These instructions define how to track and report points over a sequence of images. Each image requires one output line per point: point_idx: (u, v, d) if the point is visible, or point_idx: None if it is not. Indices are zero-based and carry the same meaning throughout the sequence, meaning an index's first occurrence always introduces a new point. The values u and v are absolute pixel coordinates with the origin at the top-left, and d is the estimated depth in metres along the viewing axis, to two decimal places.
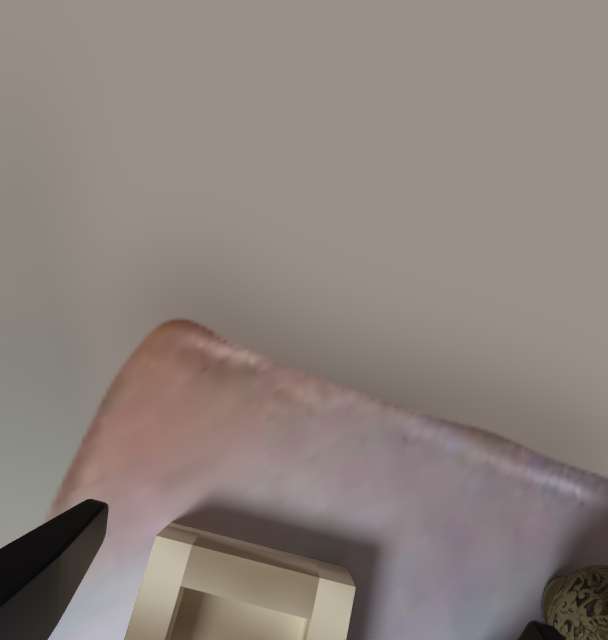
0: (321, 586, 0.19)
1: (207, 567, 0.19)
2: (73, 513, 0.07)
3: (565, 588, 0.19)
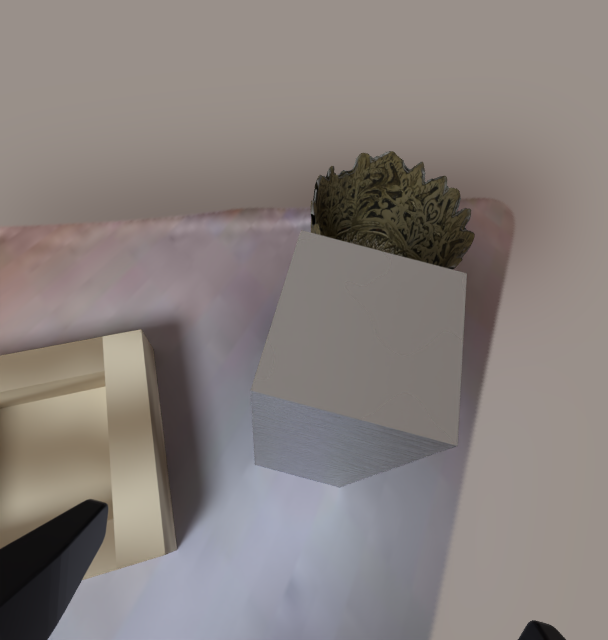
0: (106, 342, 0.19)
1: None
2: (73, 514, 0.07)
3: None
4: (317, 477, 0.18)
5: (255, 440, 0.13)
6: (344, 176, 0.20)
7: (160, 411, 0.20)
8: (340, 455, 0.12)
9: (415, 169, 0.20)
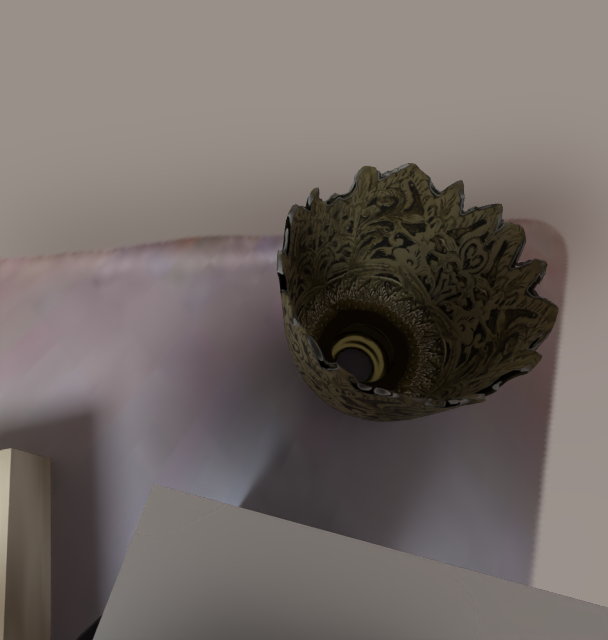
0: None
1: None
2: None
3: None
4: None
5: None
6: (336, 203, 0.12)
7: (49, 568, 0.13)
8: None
9: (449, 192, 0.12)
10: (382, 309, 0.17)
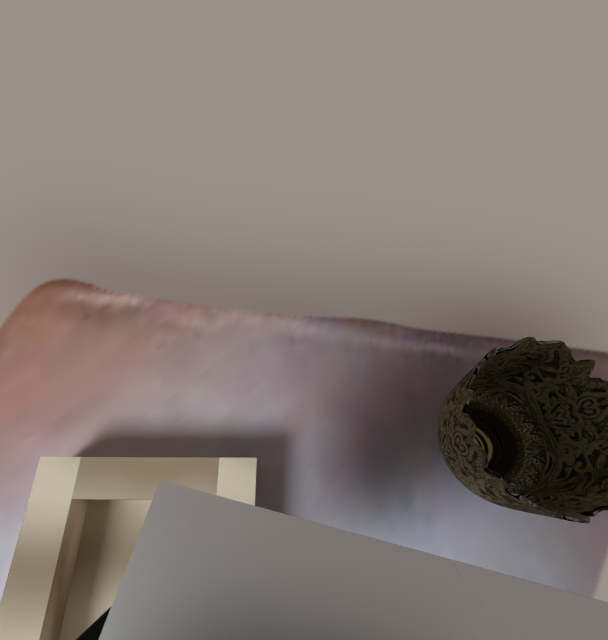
0: (222, 464, 0.19)
1: (99, 474, 0.18)
2: None
3: None
4: None
5: None
6: (501, 353, 0.18)
7: None
8: None
9: (583, 364, 0.18)
10: (500, 414, 0.22)
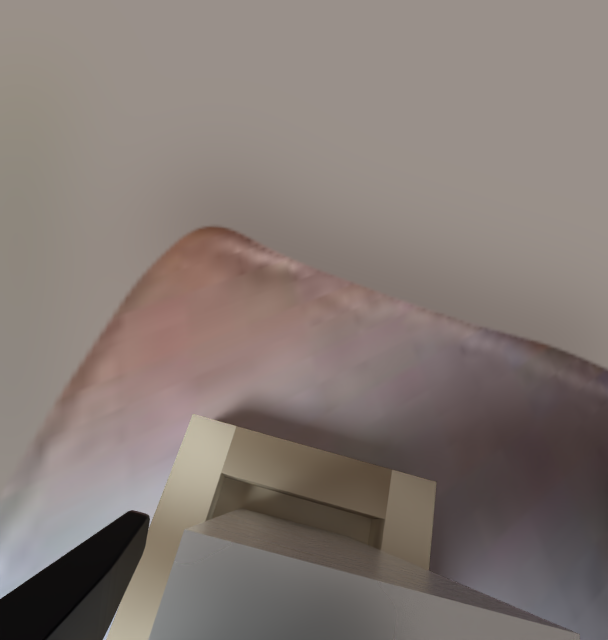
0: (395, 479, 0.15)
1: (254, 452, 0.15)
2: (117, 526, 0.07)
3: None
4: None
5: None
6: None
7: None
8: None
9: None
10: None
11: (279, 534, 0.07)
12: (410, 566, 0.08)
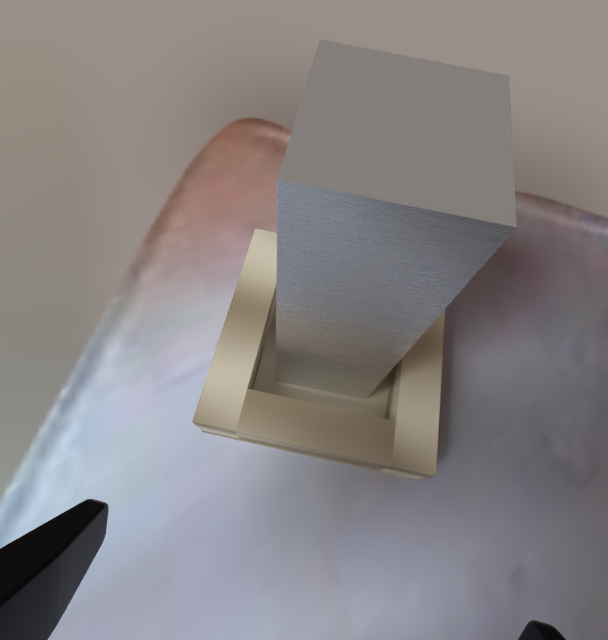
0: None
1: None
2: (72, 514, 0.07)
3: None
4: (342, 384, 0.17)
5: (278, 318, 0.13)
6: None
7: None
8: (372, 316, 0.11)
9: None
10: None
11: None
12: None
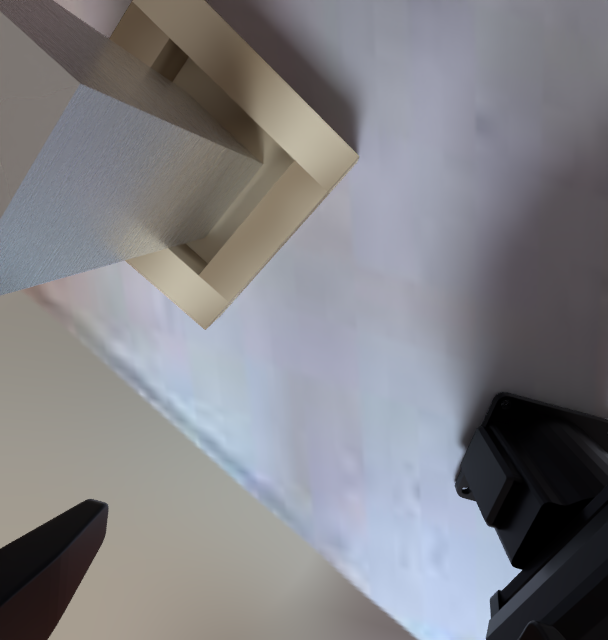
0: (141, 3, 0.15)
1: None
2: (73, 513, 0.07)
3: None
4: (235, 187, 0.17)
5: (130, 257, 0.12)
6: None
7: None
8: (159, 186, 0.10)
9: None
10: None
11: None
12: None
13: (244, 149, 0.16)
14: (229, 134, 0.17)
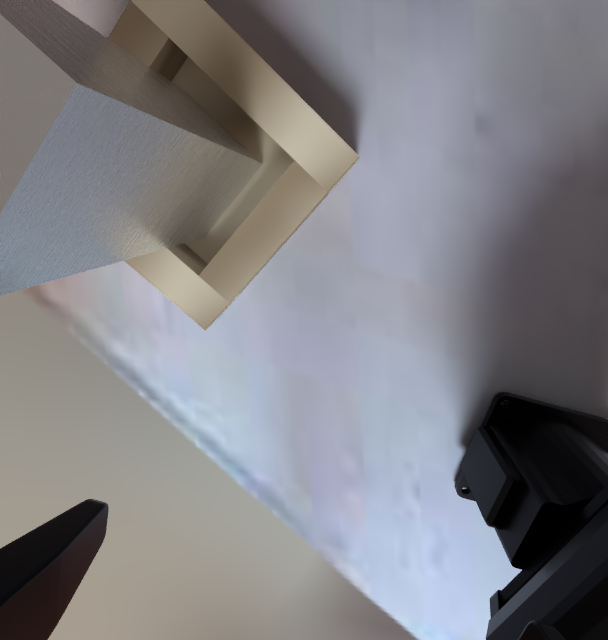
0: (140, 3, 0.15)
1: None
2: (73, 513, 0.07)
3: None
4: (234, 187, 0.16)
5: (129, 257, 0.12)
6: None
7: None
8: (158, 186, 0.10)
9: None
10: None
11: None
12: None
13: (243, 149, 0.16)
14: (228, 134, 0.17)
